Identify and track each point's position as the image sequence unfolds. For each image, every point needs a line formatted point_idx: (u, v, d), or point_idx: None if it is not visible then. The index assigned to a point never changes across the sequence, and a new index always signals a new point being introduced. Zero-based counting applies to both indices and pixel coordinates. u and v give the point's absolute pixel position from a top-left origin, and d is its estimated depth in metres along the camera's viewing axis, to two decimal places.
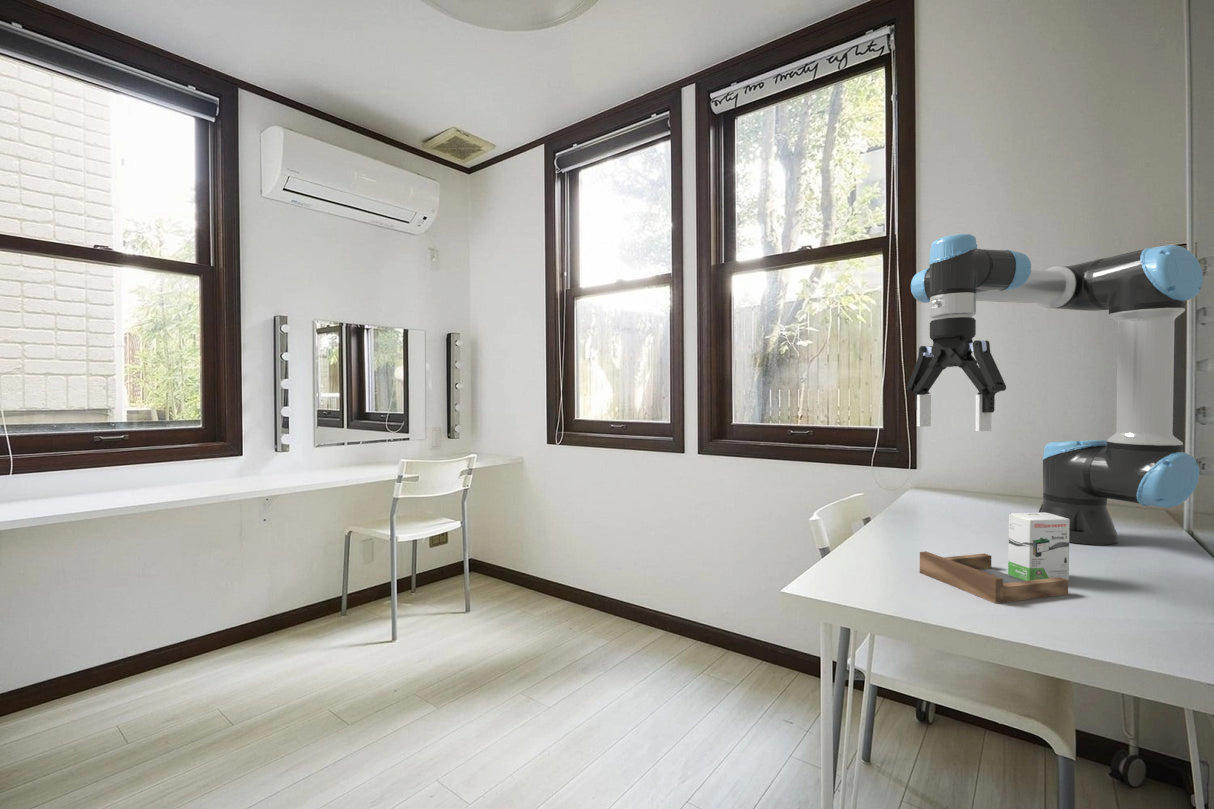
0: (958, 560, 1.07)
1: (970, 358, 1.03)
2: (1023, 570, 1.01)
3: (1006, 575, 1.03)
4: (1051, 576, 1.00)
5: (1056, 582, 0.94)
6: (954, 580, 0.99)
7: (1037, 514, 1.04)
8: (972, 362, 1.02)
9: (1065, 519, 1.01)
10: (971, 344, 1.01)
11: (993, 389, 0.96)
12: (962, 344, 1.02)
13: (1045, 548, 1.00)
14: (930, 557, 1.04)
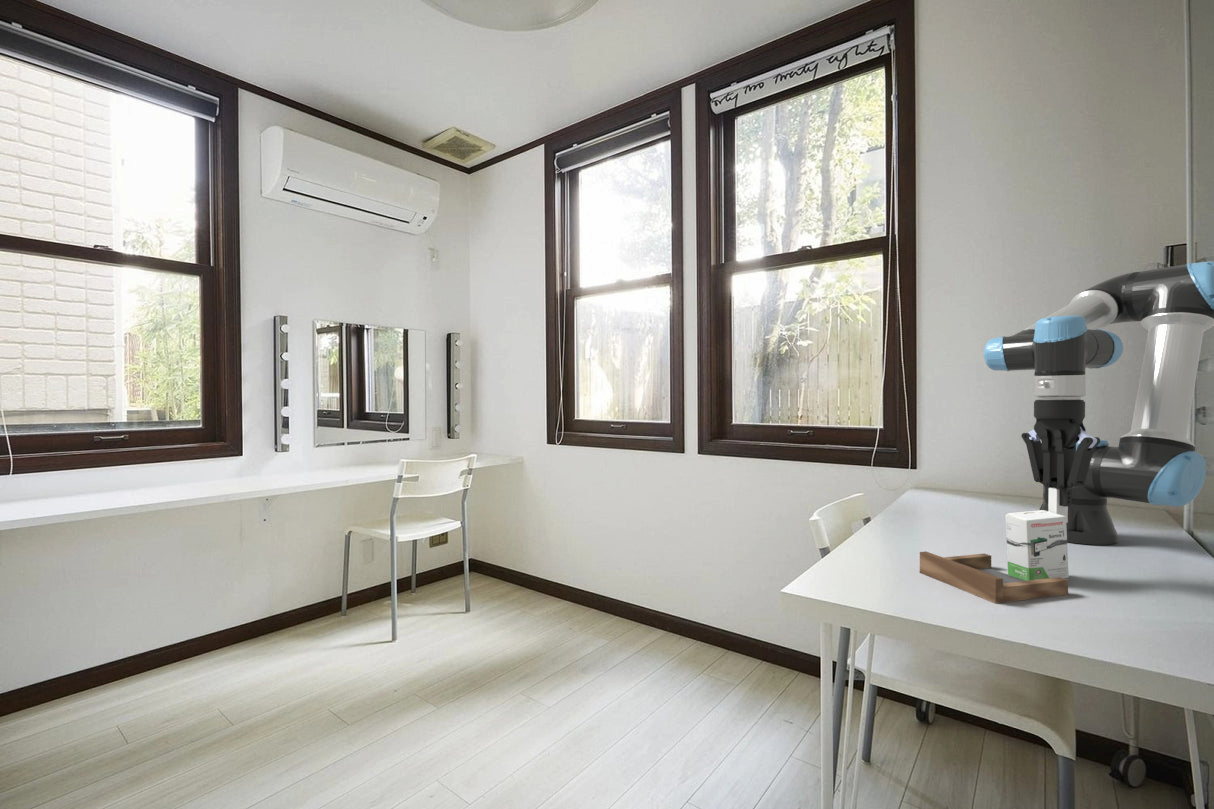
0: (958, 560, 1.07)
1: None
2: (1022, 570, 1.01)
3: (1006, 575, 1.03)
4: (1051, 574, 1.00)
5: (1056, 582, 0.94)
6: (954, 580, 0.99)
7: (1033, 512, 1.04)
8: (1070, 451, 1.02)
9: (1061, 517, 1.01)
10: (1082, 434, 0.99)
11: (1070, 486, 1.01)
12: (1074, 429, 1.00)
13: (1043, 547, 1.00)
14: (930, 557, 1.04)
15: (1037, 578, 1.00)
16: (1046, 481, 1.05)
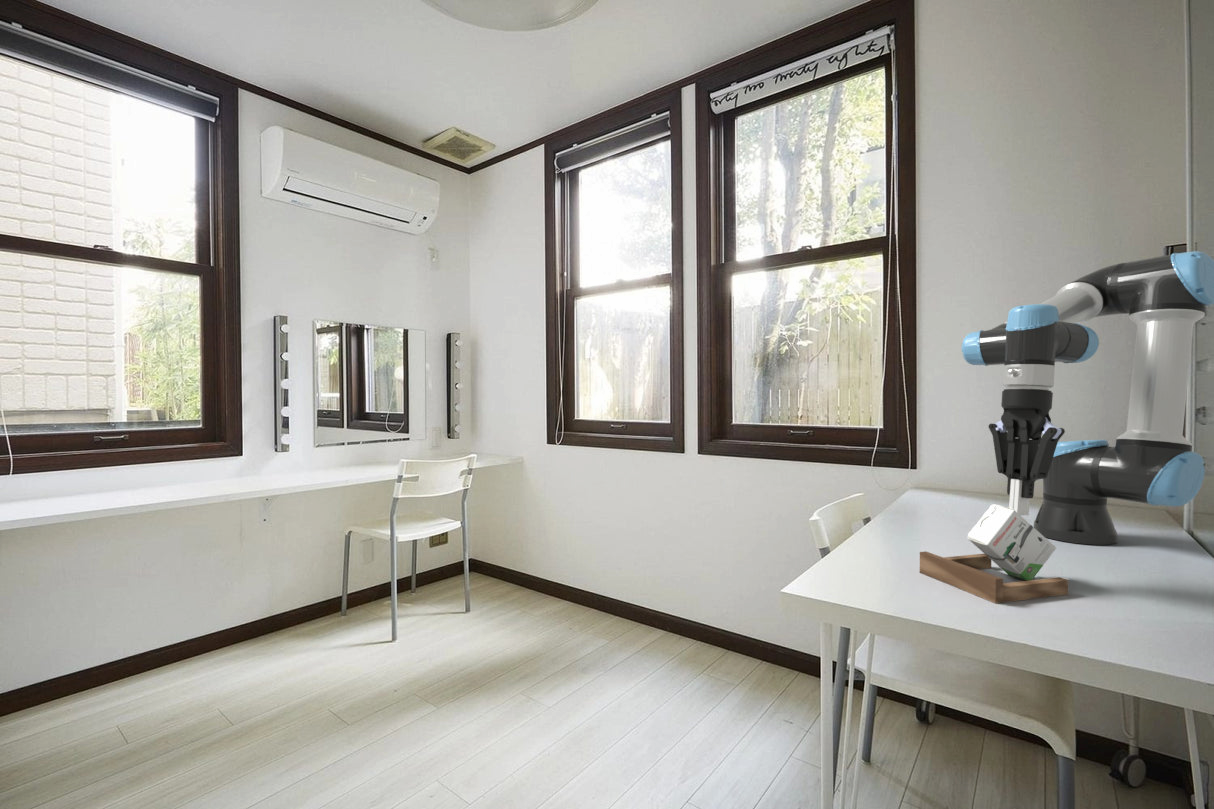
0: (958, 560, 1.07)
1: None
2: (1016, 575, 1.01)
3: (1006, 575, 1.03)
4: (1041, 561, 1.00)
5: (1056, 582, 0.94)
6: (954, 580, 0.99)
7: (987, 517, 1.02)
8: (1035, 442, 1.01)
9: (1011, 513, 0.99)
10: (1047, 424, 0.98)
11: (1032, 477, 0.99)
12: (1039, 419, 0.99)
13: (1017, 549, 0.99)
14: (930, 557, 1.04)
15: (1032, 574, 1.00)
16: (1009, 472, 1.03)
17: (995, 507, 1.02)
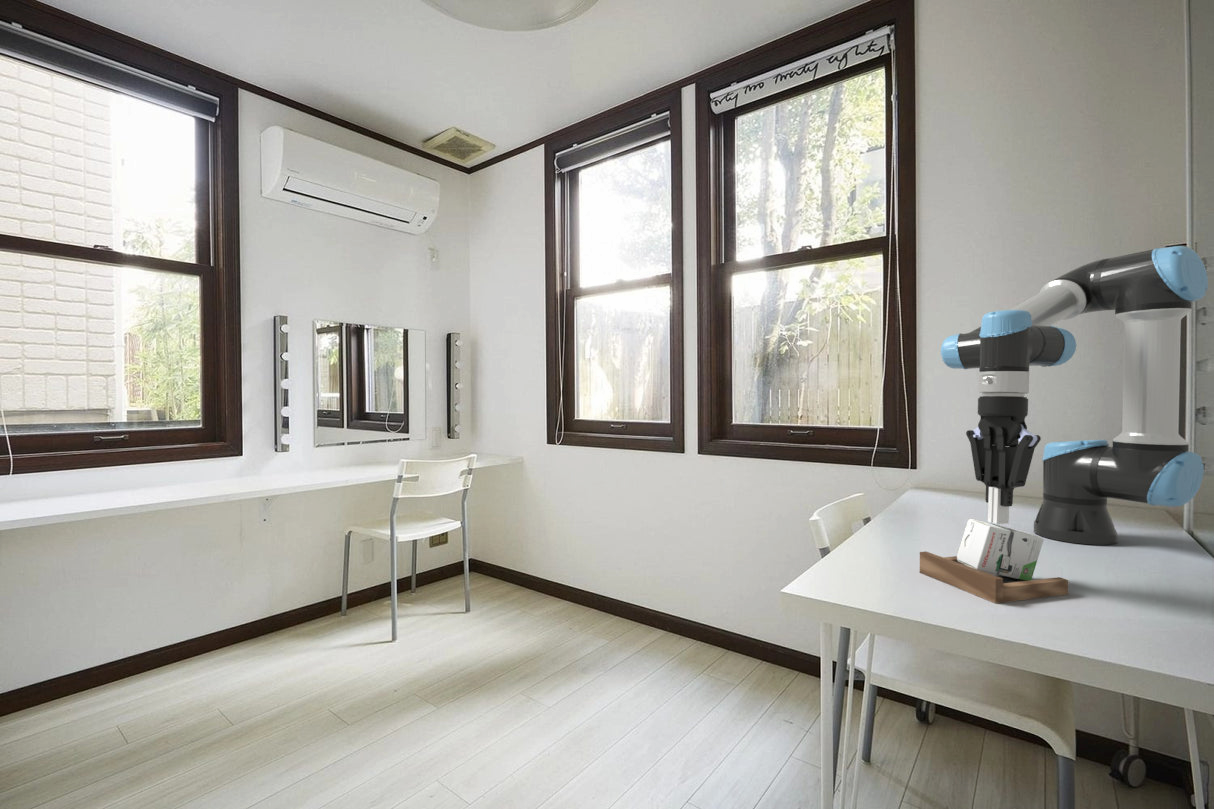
0: None
1: None
2: None
3: None
4: (1033, 558, 0.99)
5: (1056, 582, 0.94)
6: (954, 580, 0.99)
7: (968, 535, 1.01)
8: (1012, 450, 0.99)
9: (988, 530, 0.98)
10: (1023, 432, 0.97)
11: (1011, 485, 0.98)
12: (1015, 426, 0.97)
13: (1007, 559, 0.99)
14: (930, 557, 1.04)
15: (1030, 573, 1.00)
16: (987, 480, 1.02)
17: (972, 523, 1.01)
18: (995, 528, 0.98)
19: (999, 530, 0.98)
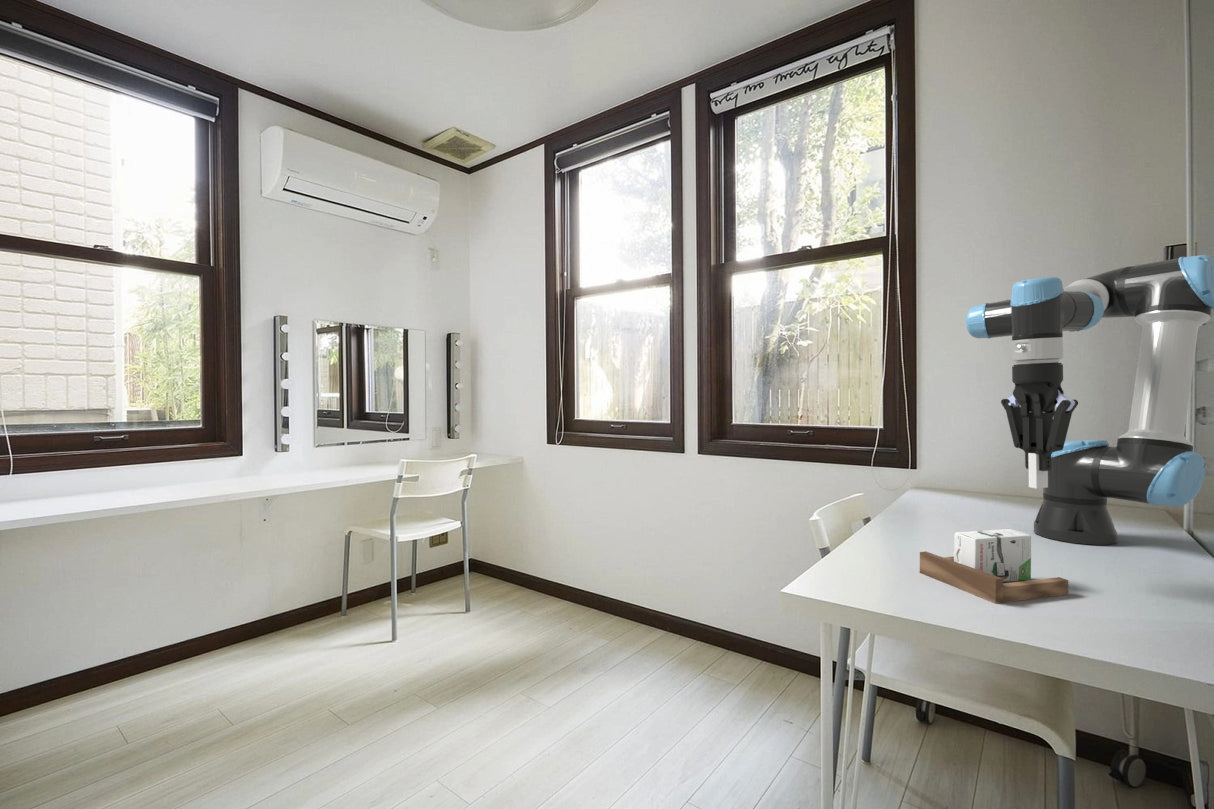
0: None
1: None
2: None
3: None
4: (1026, 556, 0.99)
5: (1056, 582, 0.94)
6: (954, 580, 0.99)
7: (958, 549, 1.02)
8: (1049, 415, 1.01)
9: (975, 543, 0.98)
10: (1060, 397, 0.98)
11: (1049, 450, 1.00)
12: (1052, 392, 0.99)
13: (1001, 566, 0.99)
14: (930, 557, 1.04)
15: (1028, 572, 1.00)
16: (1026, 446, 1.04)
17: (959, 537, 1.01)
18: (981, 539, 0.98)
19: (985, 540, 0.98)
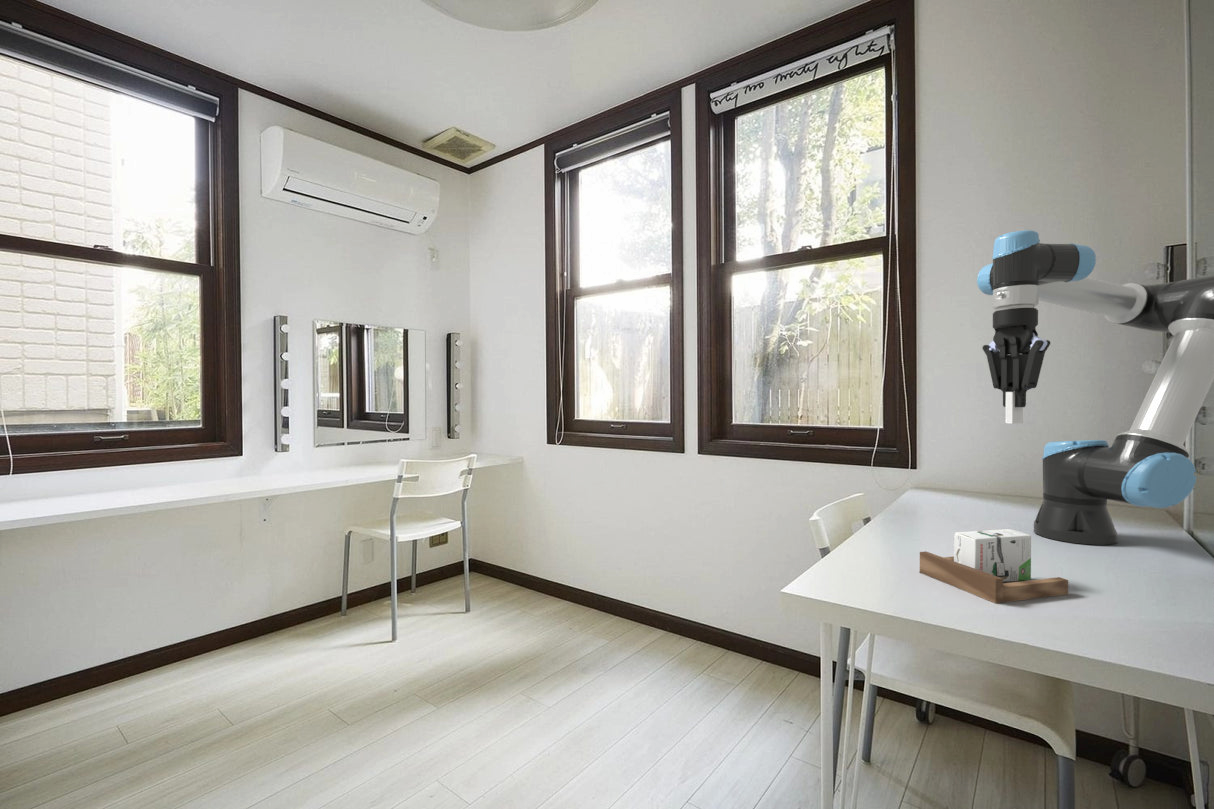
0: None
1: None
2: None
3: None
4: (1026, 556, 0.99)
5: (1056, 582, 0.94)
6: (954, 580, 0.99)
7: (958, 549, 1.02)
8: (1025, 356, 1.11)
9: (975, 543, 0.98)
10: (1034, 338, 1.08)
11: (1024, 387, 1.10)
12: (1027, 334, 1.09)
13: (1001, 566, 0.99)
14: (930, 557, 1.04)
15: (1028, 572, 1.00)
16: (1003, 386, 1.14)
17: (959, 537, 1.01)
18: (981, 539, 0.98)
19: (985, 540, 0.98)
